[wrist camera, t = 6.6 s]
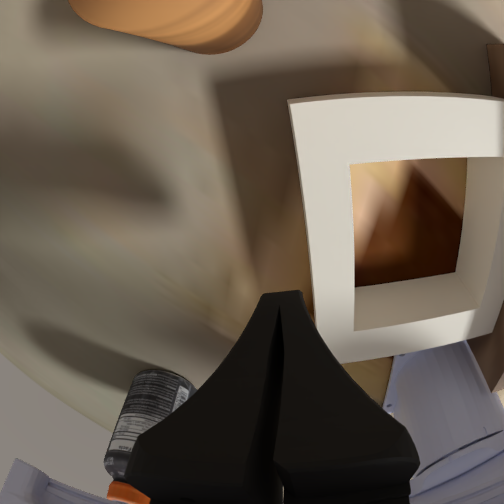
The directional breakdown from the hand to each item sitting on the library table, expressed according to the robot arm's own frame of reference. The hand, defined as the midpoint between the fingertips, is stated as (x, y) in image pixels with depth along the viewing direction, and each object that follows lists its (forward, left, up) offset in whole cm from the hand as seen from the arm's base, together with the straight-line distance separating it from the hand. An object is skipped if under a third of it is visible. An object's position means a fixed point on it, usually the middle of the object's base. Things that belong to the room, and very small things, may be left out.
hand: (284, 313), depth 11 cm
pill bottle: (-13, +11, -6) cm, 18 cm away
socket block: (0, -7, -6) cm, 9 cm away
